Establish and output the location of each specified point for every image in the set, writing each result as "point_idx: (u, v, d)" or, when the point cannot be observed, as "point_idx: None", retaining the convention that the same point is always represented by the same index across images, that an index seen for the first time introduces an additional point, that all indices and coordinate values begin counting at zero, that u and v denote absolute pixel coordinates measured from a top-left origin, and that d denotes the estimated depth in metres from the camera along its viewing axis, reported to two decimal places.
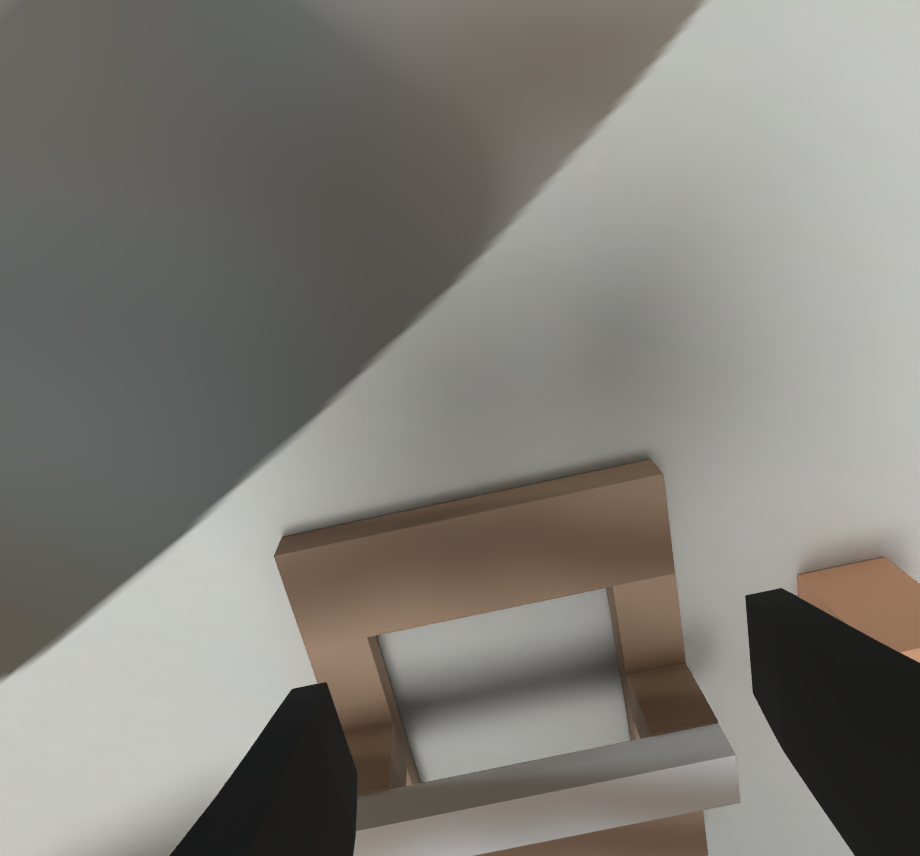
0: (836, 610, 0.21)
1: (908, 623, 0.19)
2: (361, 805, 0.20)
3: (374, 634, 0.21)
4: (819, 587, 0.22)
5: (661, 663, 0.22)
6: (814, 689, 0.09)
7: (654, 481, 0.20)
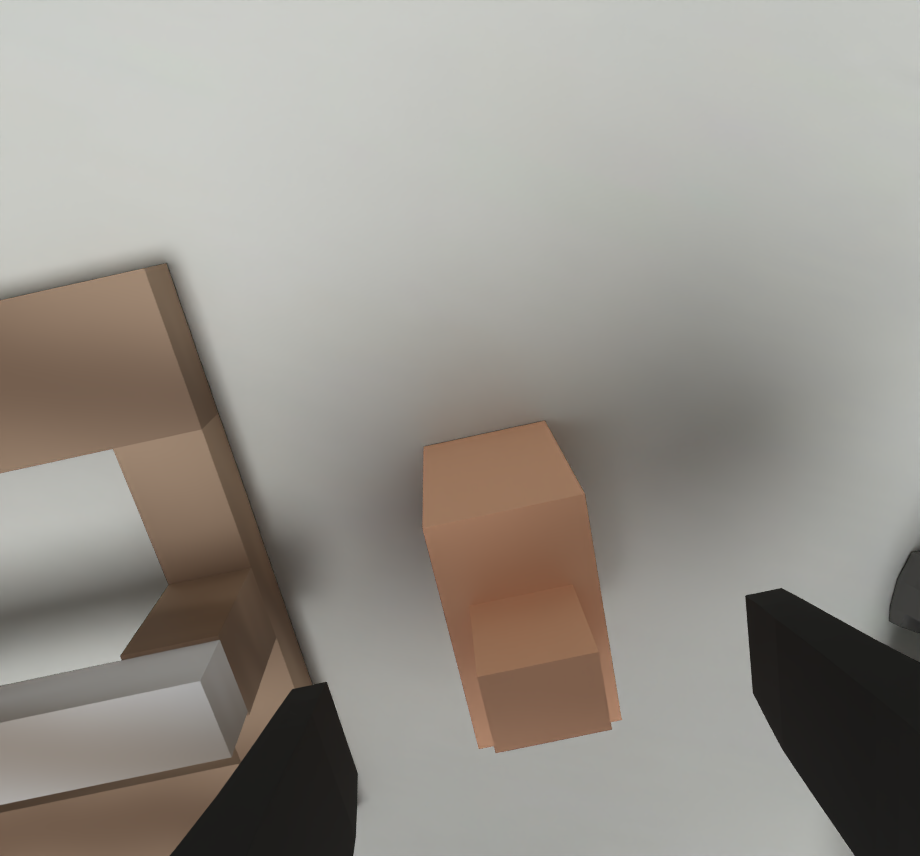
0: (428, 479, 0.14)
1: (500, 487, 0.13)
2: None
3: None
4: (434, 457, 0.15)
5: (215, 568, 0.15)
6: (815, 689, 0.09)
7: (133, 280, 0.13)
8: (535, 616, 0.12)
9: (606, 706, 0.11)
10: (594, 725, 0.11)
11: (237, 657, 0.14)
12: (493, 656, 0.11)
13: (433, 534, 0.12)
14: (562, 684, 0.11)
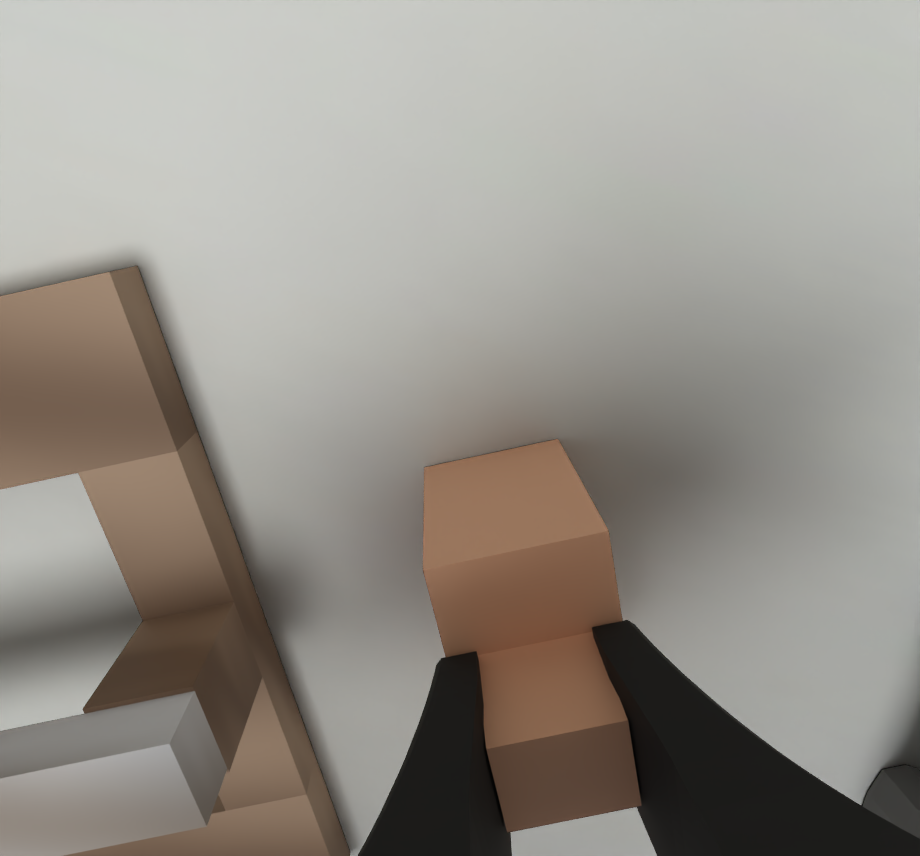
0: (429, 508, 0.13)
1: (510, 519, 0.11)
2: None
3: None
4: (436, 480, 0.14)
5: (194, 602, 0.14)
6: (632, 726, 0.09)
7: (97, 285, 0.12)
8: (552, 671, 0.10)
9: (635, 780, 0.10)
10: (621, 801, 0.10)
11: (215, 707, 0.12)
12: (505, 722, 0.10)
13: (435, 576, 0.11)
14: (585, 756, 0.09)
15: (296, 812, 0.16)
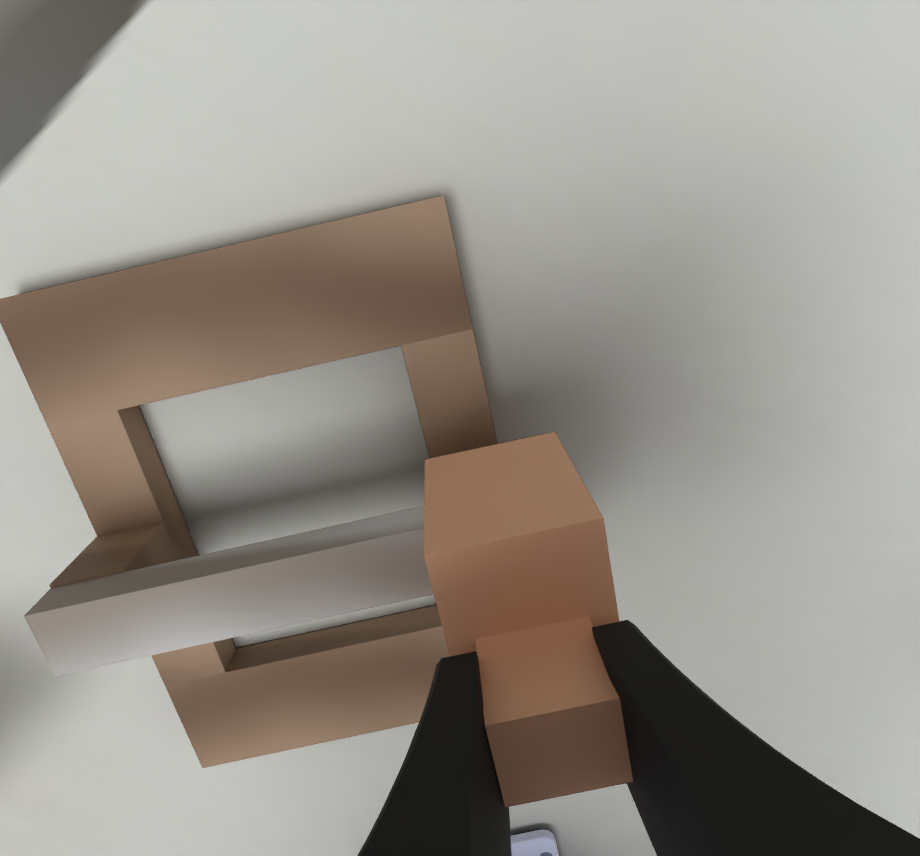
0: (429, 498, 0.13)
1: (509, 508, 0.12)
2: (87, 586, 0.17)
3: (125, 406, 0.18)
4: (436, 472, 0.14)
5: (469, 447, 0.19)
6: (631, 726, 0.09)
7: (434, 205, 0.17)
8: (548, 653, 0.11)
9: (628, 756, 0.10)
10: (615, 777, 0.10)
11: None
12: (503, 700, 0.10)
13: (436, 562, 0.11)
14: (580, 733, 0.10)
15: None
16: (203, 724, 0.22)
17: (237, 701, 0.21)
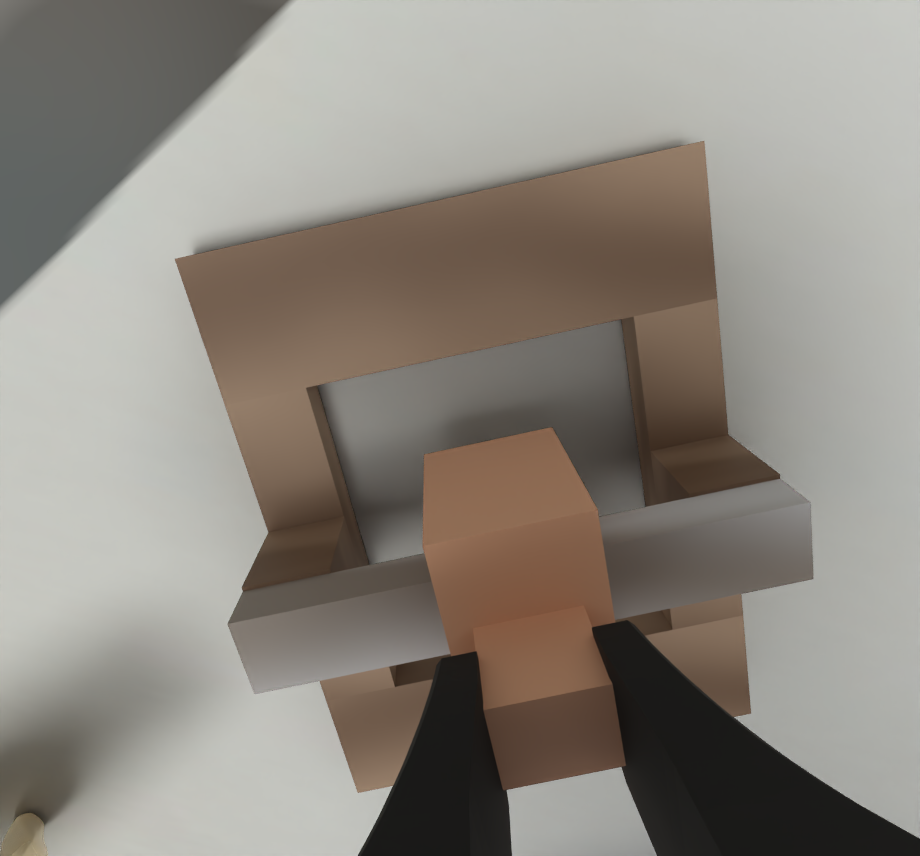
0: (428, 491, 0.13)
1: (505, 500, 0.12)
2: (291, 589, 0.14)
3: (315, 383, 0.16)
4: (435, 466, 0.14)
5: (696, 434, 0.17)
6: (631, 726, 0.09)
7: (692, 152, 0.15)
8: (544, 641, 0.11)
9: (621, 741, 0.10)
10: (608, 761, 0.10)
11: None
12: (499, 686, 0.10)
13: (434, 552, 0.11)
14: (574, 718, 0.10)
15: (730, 632, 0.19)
16: (364, 744, 0.19)
17: (405, 719, 0.19)
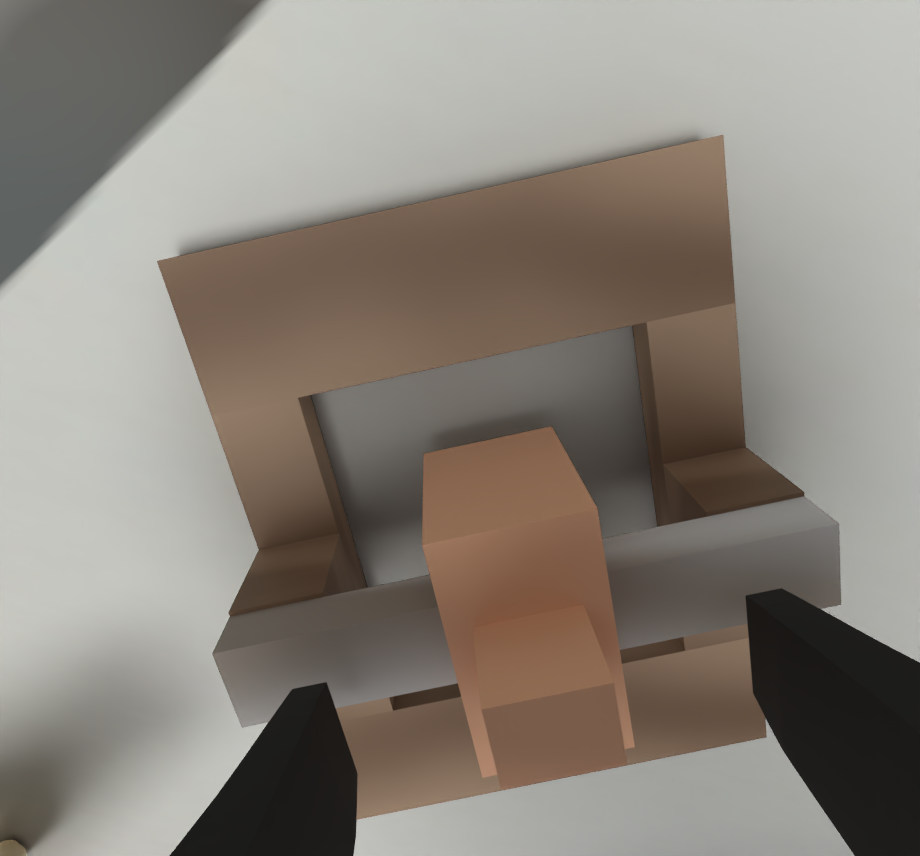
0: (428, 490, 0.13)
1: (505, 499, 0.12)
2: (281, 615, 0.13)
3: (308, 393, 0.15)
4: (435, 465, 0.14)
5: (712, 447, 0.16)
6: (814, 689, 0.09)
7: (710, 147, 0.14)
8: (544, 640, 0.11)
9: (621, 740, 0.10)
10: (608, 760, 0.10)
11: None
12: (499, 686, 0.10)
13: (434, 551, 0.11)
14: (574, 717, 0.10)
15: (745, 653, 0.18)
16: (360, 770, 0.18)
17: (403, 744, 0.18)
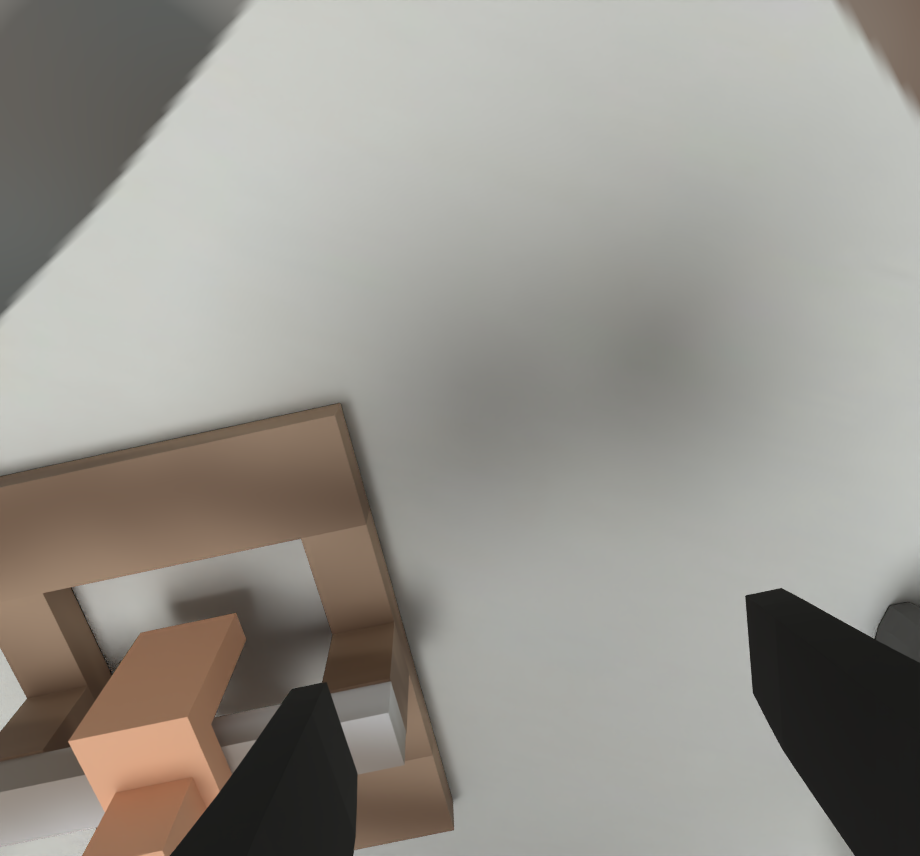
0: (113, 679, 0.18)
1: (146, 698, 0.17)
2: (7, 769, 0.18)
3: (49, 590, 0.20)
4: (136, 649, 0.19)
5: (368, 622, 0.21)
6: (814, 689, 0.09)
7: (326, 423, 0.19)
8: (148, 809, 0.16)
9: None
10: None
11: (398, 692, 0.19)
12: (98, 848, 0.15)
13: (76, 745, 0.16)
14: None
15: (424, 768, 0.23)
16: None
17: None
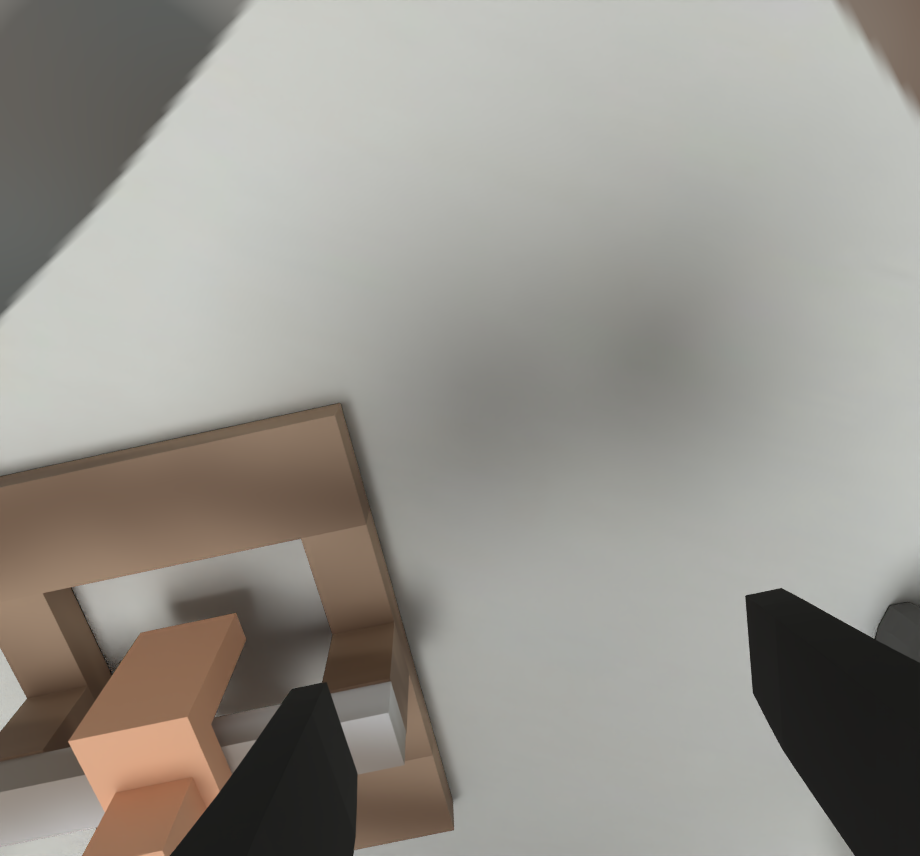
0: (113, 679, 0.18)
1: (146, 698, 0.17)
2: (7, 769, 0.18)
3: (49, 590, 0.20)
4: (136, 649, 0.19)
5: (368, 622, 0.21)
6: (814, 689, 0.09)
7: (326, 423, 0.19)
8: (148, 809, 0.16)
9: None
10: None
11: (398, 692, 0.19)
12: (98, 848, 0.15)
13: (76, 745, 0.16)
14: None
15: (424, 768, 0.23)
16: None
17: None
